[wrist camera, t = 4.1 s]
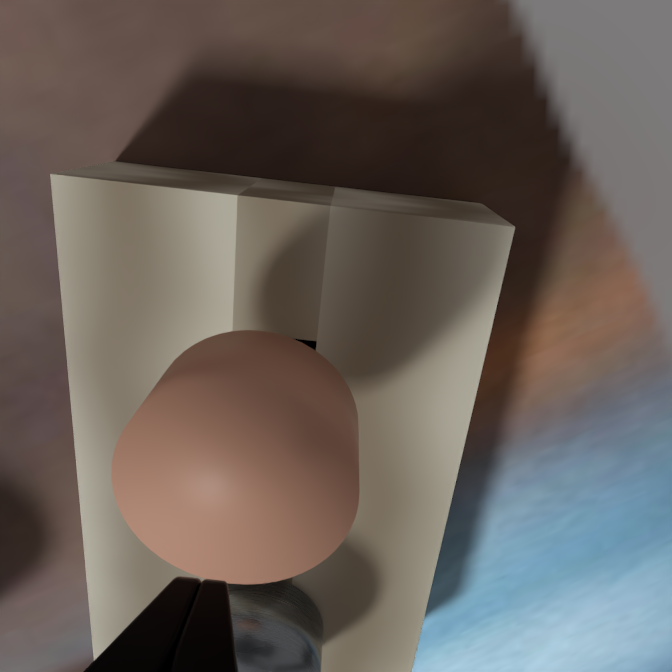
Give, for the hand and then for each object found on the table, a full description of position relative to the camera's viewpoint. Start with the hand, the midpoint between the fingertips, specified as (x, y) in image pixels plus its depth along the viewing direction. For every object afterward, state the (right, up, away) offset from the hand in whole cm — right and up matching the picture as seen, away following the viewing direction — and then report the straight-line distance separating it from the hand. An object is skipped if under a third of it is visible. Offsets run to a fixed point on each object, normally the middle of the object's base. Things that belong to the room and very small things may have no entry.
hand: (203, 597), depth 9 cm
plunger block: (0, 0, +13) cm, 13 cm away
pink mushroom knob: (0, +4, +8) cm, 9 cm away
